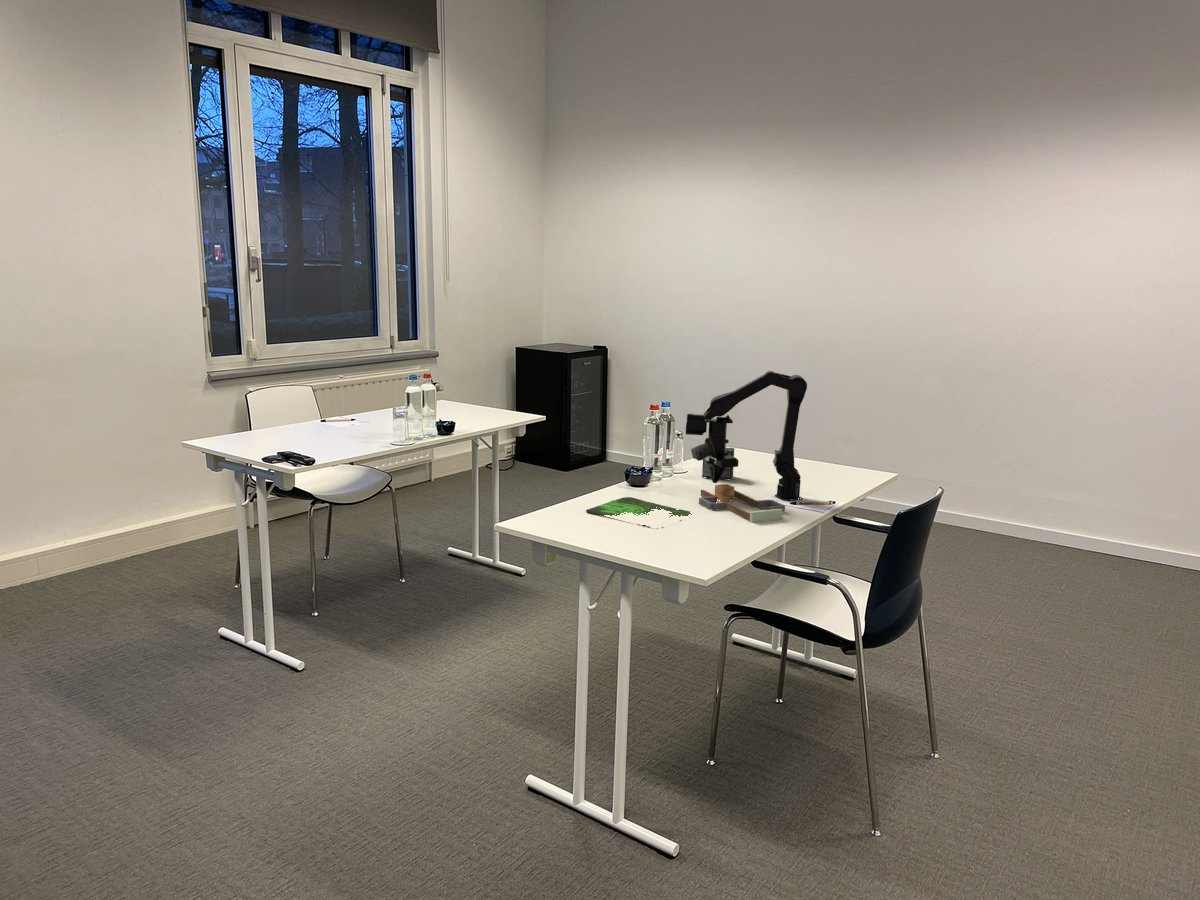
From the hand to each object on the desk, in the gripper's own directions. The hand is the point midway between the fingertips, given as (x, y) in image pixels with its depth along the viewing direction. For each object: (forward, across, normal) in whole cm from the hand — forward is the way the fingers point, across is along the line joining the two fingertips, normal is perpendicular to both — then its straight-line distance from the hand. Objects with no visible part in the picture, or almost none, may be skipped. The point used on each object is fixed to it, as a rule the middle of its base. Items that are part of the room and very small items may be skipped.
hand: (714, 482), depth 288 cm
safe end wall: (+4, +31, 0) cm, 31 cm away
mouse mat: (+4, +12, -32) cm, 35 cm away
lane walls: (+4, +15, 0) cm, 16 cm away
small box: (+4, -21, +13) cm, 25 cm away
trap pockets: (+4, +17, 0) cm, 17 cm away
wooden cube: (+4, +6, 0) cm, 8 cm away
